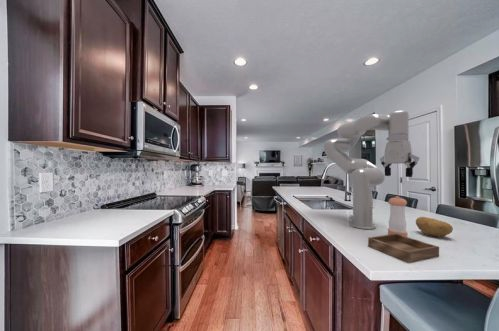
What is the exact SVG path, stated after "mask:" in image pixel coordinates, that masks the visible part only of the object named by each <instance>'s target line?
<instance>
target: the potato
mask: <svg viewBox="0 0 499 331" xmlns="http://www.w3.org/2000/svg"><path fill="white" fill-rule="evenodd" d="M415 225H416V226H417V228H418V230H420V231H421V232H423V233H424V234H426V235H428V236H431V237H441V238H442V237H446V236H448V235H450V234H451V233H452V232H453V230H454V229H453V226H452V225H451V224H450V223H448V222H446V221H443V220H439V219H436V218H430V217H425V216H419V217H417V218H416V219H415Z"/></svg>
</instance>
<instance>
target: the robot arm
mask: <svg viewBox="0 0 499 331" xmlns="http://www.w3.org/2000/svg"><path fill="white" fill-rule="evenodd" d="M367 131H387V132H388V133H387V135H388V136H387V137H386V141H387V142H386V144H385V149H384V154H383V156H381V157H380V158H379V162H380V163H381V165H382V166H383V168H384V171H382V170H381V168H379V167H377V165H375V164H373V163H372V162H370V161H369V160H368V159H365V158H354V157H353V158H352V157H351V156H349V155H348V154H347V153H348V152H350V151H351V150H352V149H353V148H354V146H355V145H356V144H357V142H358V141H359V140H360V138H361V137H362V136H364V134H366V132H367ZM336 133H337V135H338V137H340V138H330V139H328V140H326V141H325V142H324V145H323V149H324V150H323V151H324V153H325V156H327V158H328V159H329V160H330V161H331V162H333V163H334V164H335V165H336V166H337V167H339V169H341V170H342V171H343V172H344V173H345V174H347V175H350V181H351V185H352V215H351V214H350V216H348V220H350V222H349V226H351V228H352V227H353V228H356V229H360V230H361V229H362V230H375V229H376V227H377V226H376V224H374V223H373V222H374V221H373V205H374V204H373V200H374V199H373V191H372V189H371V187H370V186H380V185H382V184H383V183H384V181H385V176H386V177H391V175H392V168H391V166H392V164H394V165H395V164H398V165H399V164H404V165H405V166H406V167H405V177H406V178H412V177H413V173H414V170H413V169H414V168H415V166H416V165H417V164H418V162H419V160H420V157H419V156H417V155H415V154H413V151H412V145H411V142H410V141H411V140H410V141H409V112H408V111H406V110H395V111H392V112H390V113H389V114H381V113H372V114H367V115H363V116H360V117H359V118H358V119H357V120H355V121H351V122H347V123H343V124H341V125H340V126H338V127H337V131H336Z"/></svg>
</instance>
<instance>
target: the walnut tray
mask: <svg viewBox="0 0 499 331" xmlns="http://www.w3.org/2000/svg"><path fill="white" fill-rule="evenodd" d="M367 239H368V240H367V244H368V245H367V246H368V247H369V248H372V249H374V250H376V251H378V252H382V253H384V254H385V255H389V256H391V257H393V258H396V259H398V260H401V261H403V262H406V263H408V264H410V263H415V262H420V261H424V260H428V259H433V258H437V257H440V246H438V245H434V244H431V243H428V242H425V241H421V240H418V239H415V238H412V237H409V236H407V237H405V236H402V235H399V234H390V235H388V234H384V235H383V234H382V235H377V236H372V237H368V238H367Z"/></svg>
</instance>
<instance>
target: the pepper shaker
mask: <svg viewBox="0 0 499 331" xmlns="http://www.w3.org/2000/svg"><path fill="white" fill-rule="evenodd" d="M387 202H388V204H389V205H390V208H389V209H390V211H389V212H390V213H389V219H388V228H387V235H390V234H399V235H402V236H405V237H408V231H407V221H406V210H405V209H406V206H407V205H408V201H407V200H406V199H404V198H402V197H400V196H398V195H395V197H391V198H389V199H388V201H387Z"/></svg>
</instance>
